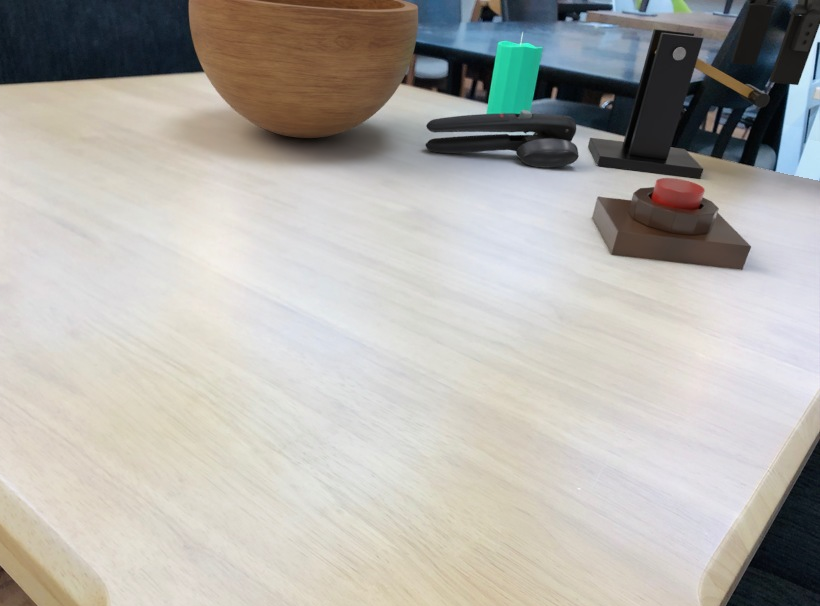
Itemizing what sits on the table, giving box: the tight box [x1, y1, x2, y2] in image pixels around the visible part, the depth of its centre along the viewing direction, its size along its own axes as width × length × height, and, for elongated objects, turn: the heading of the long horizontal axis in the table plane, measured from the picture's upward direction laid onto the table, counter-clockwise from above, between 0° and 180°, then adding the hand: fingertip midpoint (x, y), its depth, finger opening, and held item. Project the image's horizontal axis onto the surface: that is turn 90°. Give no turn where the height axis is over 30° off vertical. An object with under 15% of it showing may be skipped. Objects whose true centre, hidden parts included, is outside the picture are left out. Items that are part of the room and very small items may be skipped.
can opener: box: [425, 110, 580, 168], centre depth 82 cm, size 18×7×6 cm, turn 88°
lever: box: [655, 51, 771, 109], centre depth 81 cm, size 13×6×2 cm, turn 82°
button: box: [651, 177, 706, 210], centre depth 61 cm, size 4×4×2 cm
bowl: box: [188, 0, 419, 139], centre depth 81 cm, size 25×25×15 cm
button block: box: [591, 186, 752, 271], centre depth 62 cm, size 11×9×4 cm
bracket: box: [587, 28, 704, 179], centre depth 84 cm, size 12×9×15 cm
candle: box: [485, 31, 544, 114], centre depth 95 cm, size 6×6×12 cm
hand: (761, 73), depth 81 cm, fingers open, 13 cm apart
